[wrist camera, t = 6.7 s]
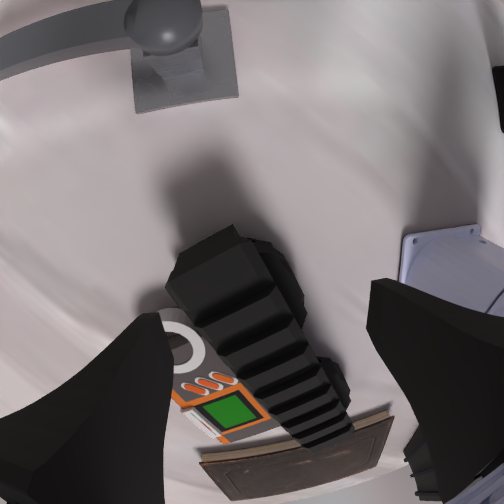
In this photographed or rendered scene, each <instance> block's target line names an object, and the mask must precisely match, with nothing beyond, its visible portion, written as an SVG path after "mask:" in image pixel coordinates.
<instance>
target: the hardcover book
mask: <svg viewBox="0 0 504 504" xmlns="http://www.w3.org/2000/svg"><path fill="white" fill-rule="evenodd" d="M393 420H394V415H393V416H391V417H390V415H389V414H388V412H387V410H386V411H384V412H381V413H378V414H376V415H373V416H371V417H368V418H365V419H362V420H359V421H356V422H354V423H353V425H354V427H355V429H354V432H353V435H352V436H351V437H349V438H347V439H345V440H343V441H341V442H338V443H336V444H334V445H331V446H329V447H327V448H324V449H322V450H320V451H317V452H315V453H311V452H309V451H307V450H305V449H304V448H303V447H302V446H301V444H300V443H299V442H297V441H296V440H295V439H294V440H289V441H285V442H280V443H275V444H270V445H265V446H259V447H254V448H247V449H241V450H234V451H226V452H217V453H207V454H202V457H201V458H202V461H203V462H199V464H200V465H201V467H202V468H203V469H204V470H205V472H206V473H207V474H208V475H209V477H210V478H211V479H212V480H213V481H214V482H215V484H216V485H217V486H218V487H219V488H220V489H221V491H222V492H223V493H224V494H225V495H226V496H227V497H228V498H229V499H230V501H238V500H247V499H254V498H261V497H267V496H273V495H279V494H284V493H289V492H294V491H298V490H302V489H307V488H311V487H315V486H318V485H322V484H326V483H329V482H332V481H336V480H339V479H342V478H345V477H348V476H351V475H354V474H357V473H360V472H363V471H365V470H368V469H371V468H373V467H376V465H377V463H378V461H379V458H380V456H381V453H382V451H383V448H384V445H385V443H386V440H387V437H388V435H389V432H390V429H391V426H392V423H393Z"/></svg>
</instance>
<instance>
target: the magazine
mask: <svg viewBox="0 0 504 504" xmlns="http://www.w3.org/2000/svg"><path fill="white" fill-rule="evenodd" d="M404 455H405V456H406V458H405V459H404V462H407V461H408V462H409V465H410V467H411V469H412V472H413V474H411V475H410V476H411V477H415V481H416V484H417V489H418V491H416V492H415V495H416V496H419V499H420V500H422V501H423V500H424V501H441V499H440V497H439V491H438V485H437V480H436V476H435V471H434V467H433V463H432V460H431V456H430V453H429V450H428V447H427V444H426V441H425V438H424V436H423V433H422V430H421V428H420V425H419V427H418V429H417V431H416V432H415V434H414V436H413V437H412V439H411V441H410V442H409V444H408V445H407V447H406V449H405V450H404Z"/></svg>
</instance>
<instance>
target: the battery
mask: <svg viewBox="0 0 504 504" xmlns="http://www.w3.org/2000/svg"><path fill="white" fill-rule="evenodd" d="M493 75H494V80H495V85H496V90H497V96H498V103H499V110H500V118H501V127H502V132H503V133H504V66H495V67H493Z"/></svg>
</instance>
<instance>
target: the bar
mask: <svg viewBox="0 0 504 504" xmlns="http://www.w3.org/2000/svg"><path fill="white" fill-rule="evenodd" d="M202 27H203V16H202V8H201V2H200V0H113V1H108V2H103V3H98V4H94V5H90V6H86V7H82V8H78V9H74V10H71V11H68V12H64V13H61V14H58V15H55V16H52V17H49V18H46V19H43V20H40V21H38V22H35V23H33V24H30V25H27V26H25V27H23V28H20V29H18V30H16V31H13V32H11V33H9V34H7V35H5V36H3V37H1V38H0V81H1V80H3V79H6V78H9V77H11V76H14V75H17V74H20V73H23V72H26V71H29V70H32V69H35V68H38V67H42V66H45V65H49V64H52V63H56V62H60V61H64V60H68V59H72V58H77V57H82V56H87V55H92V54H97V53H103V52H109V51H116V50H123V49H132V48H140V49H141V50H142V51H144V52H146V53H148V54H150V55H154V56H168V55H173V54H176V53H178V52H181V51H183V50H185V49H186V48H188V47H189V46H190V45H192V44H193V43H194V42H195V41H196V39H197V38H198V37H199V35H200V33H201V31H202Z"/></svg>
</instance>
